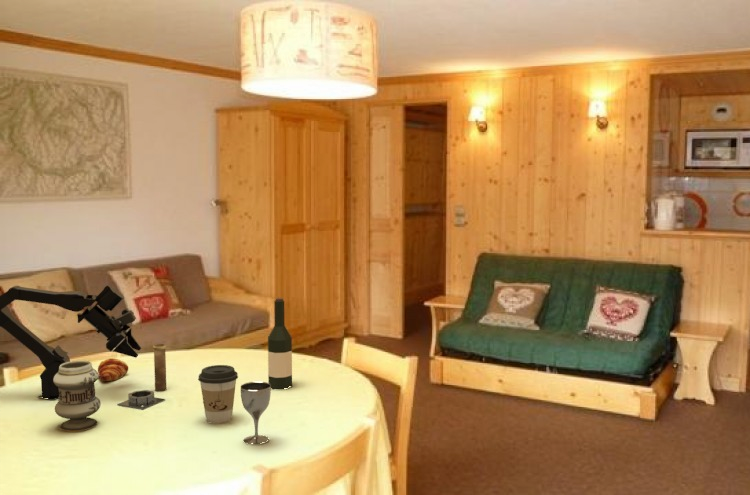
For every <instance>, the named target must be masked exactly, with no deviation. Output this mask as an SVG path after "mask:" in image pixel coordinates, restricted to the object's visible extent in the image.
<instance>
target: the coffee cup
mask: <svg viewBox="0 0 750 495" xmlns="http://www.w3.org/2000/svg"><path fill="white" fill-rule="evenodd" d="M238 378H239V375H238V372H237V371H235V368H234V366H232V365H228V364H216V365H208V366H206V367H203V368H202V369H201V373H199V375H198V379H197V380H198V382H199V384H200V388H201V395H202V402H203V409H204V416H205V418H206V421H207V422H208V423H210V424H214V425H215V424H217V425H218V424H226V423H228V422H230V421H232V417H233V410H234V403H235V402H234V401H235V393H236V392H235V391H236V386H237V385H236V384H237V379H238Z"/></svg>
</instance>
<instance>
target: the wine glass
mask: <svg viewBox="0 0 750 495" xmlns="http://www.w3.org/2000/svg"><path fill="white" fill-rule="evenodd" d="M271 391H272V389H271V385H270V384H269V382H267V381H249V382H245V383H243V384H241V385H240V398H241V403H242V406H243V408H244V410H246V412H247V413H248V414H249V415H250V416H251V418H252V421H253V424H254V434H253V435H249V436H247V437H245V438H244V439H243V441H244V442H245V443H248V444H260V443H262V442H266V441H267V440H269V439H268V437H269V436H267V435H264V436H263V434H259V421H260V418H261V416H262V415H263V413H264V412H265V411H266V410H267V408H268V407H269V404H270V401H271V393H272V392H271ZM266 436H267V437H266ZM243 441H242V442H243ZM244 442H243V443H244ZM245 443H244V444H245ZM248 444H247V445H248Z"/></svg>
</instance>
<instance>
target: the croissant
mask: <svg viewBox="0 0 750 495" xmlns="http://www.w3.org/2000/svg"><path fill="white" fill-rule="evenodd" d="M128 371H129V365H128V364H127V363H126V362H125V361H123V360H121V359H119V358H115V357H113V358H107V359H105V360H102V361H101V362H100V363H99V364H98V366H97V372H98V374H99V377H98V378H99V379H100V380H101V381H103V382H111V381H116V380H117V379H120V377H121V378H122V377H123V376H125V375H126V374H127V373H128Z"/></svg>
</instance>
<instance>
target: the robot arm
mask: <svg viewBox="0 0 750 495" xmlns="http://www.w3.org/2000/svg"><path fill="white" fill-rule="evenodd" d="M124 299H125V296H124V295H123V293H121V292H120V290H118V289H116V288H115V287H112V286H111V285H110V284H106V286H104V288H103V289H102V290H101V292H100V293H99V294H97V295H96V294H87V292H84V291H82V290H70V291H69V290H68V291H53V290H46V289H39V288H30V287H25V286H24V287H23V286H19V285H13V286H12V287H10V288H8V289H7V291H6V292H3V293H2V294H1V295H0V328H2V329H3V330H5V331H6V332H7V334H8V333H9V334H10V335H11V336H12V337H14V338H15V339H16V340H17V341H18V342H20V343H21V344H22V345H23V346H24V347H26V348H27V349H28V350H29V351H31V352H32V353H33V354H34V355H35V356H37V357H38V359H39V361H40V362H41V364H42V366H43V367H44V368H45V369H44V370H43V371H42V373H41V374H40V375H39V377H40V382H41V394H39V395H38V398H39V397H43V398H42V399H44V398H48V399H47V400H49V399H54V400H56V399H55V398H57V399H59V389H58V386H56V385H55V384H54V381H53V379H54V376H55V375H56V374H57V373H58V371H59V366H60V365H61V364H63V363H66V362H71V358H70V356H69V355H68V353H69V352H67V351H65V350H63V348H62V347H61V346H60V345H56V346H55V347H52V346H51V345H50V346H49V344H47V343H45V342H44V341H43V340H42V339H41V338H40V337H38V336H37V335H36V334H35V333H34V332H33V331H31V330H30V329H29V328H27V327H26V326H25V325H24V324H23V323H22V322H20V321H19V320H18V319H17V318H16V317H15V316H14V315H13V314H12V312H11V310H10V309H9V307H8V305H10V304H11V303H13V302H14V301H24V302H30V303H31V302H32V303H39V304H45V305H46V304H47V305H54V306H58V307H60V308H62V309H64V310H68V311H71V312H75V313H77V314H76V316H77V324H79V323H81V322H82V321H83V320H85V321H86V322H87V323H89V325H91V326H92V327H93V328H94V329H96V333H97V334H101V335H103V336H104V337H105V338H106V343H105V349H107V350H108V351H109V352H110V353H111V352H113V353H118V354H122V355H126V356H129V357H131V358H132V357H133V358H135V359H136V358H137V357H138V356H139V353H138V352H136V351H140V350H141V349H142V347H141V346H140V344H139V343H138V341H137V340H136V338H135V337H134V335H133V332H132V331H133V328H132V325H131V324H132V323H133V322H135V321H136V319H137V317H136V316H135V313H134V311H132V310H131V309H127V308H125V309H123V310H122V311H121V314H119V315H118V316H117V317H115V315H109V314H108V313H107V312H108V311H110V312H112V311H113V310H115V308H116V307H117V306H118V305H120V303H121V302H122V301H123V300H124ZM95 302H96V303H95ZM94 303H95V304H94ZM93 304H94V305H93ZM92 305H93V306H92ZM91 306H92V307H91ZM84 309H85V310H84ZM82 310H84V311H82ZM81 311H82V312H81ZM79 312H80V313H79Z"/></svg>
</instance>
